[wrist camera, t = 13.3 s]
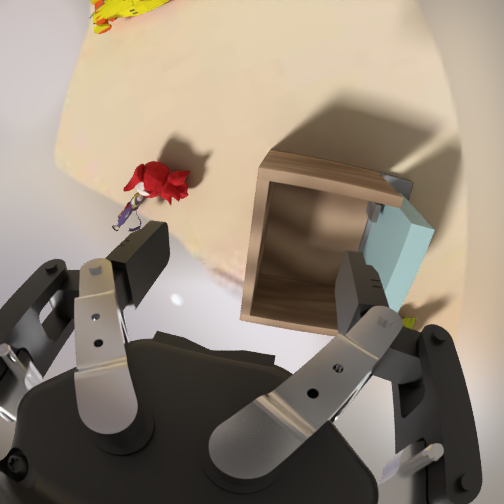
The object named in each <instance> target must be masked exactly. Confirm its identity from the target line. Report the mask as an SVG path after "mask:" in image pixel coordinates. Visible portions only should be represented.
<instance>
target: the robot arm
mask: <svg viewBox="0 0 504 504" xmlns="http://www.w3.org/2000/svg"><path fill="white" fill-rule="evenodd" d="M169 257H170V247H169V233H168V225H167V223H166V222H159V221H149V222H148V223H147V224H146V225H145V226H144V227H143V228H142V229H139V230H137V231H135V232H133V233H131V234H130V235H129V236H128V237H127V238H126V239H125V240H124V241H123V242H121V243H120V245H118V246H117V247H116V248H115V249H114V250H113V251H112V252H111V253H110V254H109V255H108V256H107V257H106V258H105V259H103V258H99V259H93V260H90V261H88V262H86V263H85V264H84V265H83V266H82V267H81V269H80V270H67V267H66V264H65V262H64V261H63V260H61V259H54V260H50V261H48V262H46V263H44V264H43V265H42V266H40V267H39V268H38V269H37V270H36V271H35V272H34V274H32V275H31V277H29V279H28V280H27V281H26V282H25V283H24V284H23V285H22V286H21V287H20V288H19V289H18V290H17V291H16V292H15V293H14V294H13V295H12V297H11V298H10V299H9V300H8V301H7V302H6V303H5V304H4V306H3V307H2V308H1V309H0V415H1V416H2V417H3V418H4V419H6V420H7V421H11V422H13V421H16V427H15V434H14V439H13V443H12V447H11V450H10V451H9V453H8V454H7V456H6V457H5V458H4V459H3V460H1V461H0V504H469V503H470V502H472V501H473V500H474V499H475V498H476V497H477V495H478V494H479V492H480V489H481V486H482V470H481V460H480V453H479V445H478V438H477V432H476V427H475V421H474V416H473V411H472V407H471V402H470V398H469V394H468V390H467V386H466V382H465V378H464V375H463V372H462V368H461V364H460V361H459V358H458V355H457V352H456V348H455V345H454V342H453V340H452V337H451V335H450V334H449V333H448V332H447V331H446V330H445V329H444V328H442V327H440V326H438V325H434V324H430V325H427V326H425V327H424V329H423V330H422V332H418V331H415V330H412V329H410V328H407V327H405V326H403V321H402V318H401V317H400V315H399V314H398V313H397V312H396V311H394V310H393V309H391V308H389V304H388V301H387V298H386V295H385V291H384V289H383V285H382V282H381V279H380V276H379V273H378V272H377V271H376V270H375V268H374V267H373V266H372V265H366V262H365V259H364V256H363V253H362V252H356V251H350V250H346V251H345V252H344V255H343V259H342V262H341V266H340V269H339V273H338V276H337V279H336V284H335V300H336V310H337V322H338V335H337V336H336V337H335V338H334V339H332V340H331V341H330V342H329V343H328V344H327V345H326V346H325V347H324V348H323V349H322V350H321V351H319V352H318V353H317V354H316V355H315V356H314V357H313V358H312V359H310V360H309V361H308V362H307V363H306V364H305V365H304V366H302V368H300V369H299V370H298V371H297V372H295V373H294V374H292V373H290V372H289V371H287V370H285V369H283V368H281V367H279V366H277V365H274V361H275V355H269V354H262V353H257V352H251V351H244V350H240V351H214V350H209V349H207V348H205V347H203V346H201V345H198V344H196V343H194V342H192V341H190V340H188V339H186V338H184V337H179V336H175V335H171V334H167V333H163V332H159V331H157V332H156V334H155V336H154V338H153V339H140V340H135V341H131V342H130V338H129V334H128V329H127V325H126V320H125V316H124V312H123V310H124V308H125V307H128V308H132V309H136V308H137V307H138V305H139V304H140V302H141V301H142V299H143V298H144V296H145V295H146V294H147V292H148V291H149V289H150V288H151V286H152V285H153V284H154V282H155V281H156V279H157V278H158V276H159V275H160V274H161V272H162V271H163V269H164V268H165V267H166V265H167V263H168V261H169ZM48 301H49V302H50V304H51V307H52V309H53V310H52V312H51V313H50V314H49V315H48V317H47V318H46V319H45V320H44V322H43V323H42V324H41V323H40V320H39V315H40V312H41V310H42V309H43V307H44V306H45V305H46V304H47V303H48ZM74 329H75V348H76V363H77V367H75V368H73V369H71V370H69V371H66V372H64V373H62V374H60V375H58V376H55V377H53V378H51V379H49V380H47V381H45V382H43V380H42V379H43V377H44V376H45V374H46V372H47V371H48V369H49V367H50V366H51V364H52V362H53V361H54V359H55V357H56V356H57V355H58V353H59V351H60V350H61V348H62V347H63V345H64V344H65V342H66V340H67V339H68V338H69V336H70V335H71V333H72V332H73V330H74ZM373 375H374V376H377V377H380V378H383V379H386V380H389V381H391V382H392V392H393V405H394V419H395V420H394V421H395V453H396V455H395V456H393V457H392V458H390V459H389V460H388V462H387V463H386V464H385V466H384V469H383V474H382V477H381V480H380V481H379V483H378V484H377V482H376V479H375V477H374V475H373V474H372V472H371V471H370V470H369V468H368V467H367V466H366V465H365V464H364V462H363V461H362V460H361V459H360V457H359V456H358V455H357V454H356V452H355V451H354V450H353V448H352V447H351V446H350V445H349V443H348V442H347V441H346V440H345V438H344V437H343V436H342V434H341V433H340V432H339V431H338V429H337V428H336V427H335V425H334V422H335V421H336V420H337V419H338V418H339V417H340V416H341V414H342V413H343V412H344V411H345V409H346V408H347V407H348V406H349V405H350V403H351V402H352V401H353V400H354V399H355V397H356V396H357V395H358V394H359V393H360V391H361V390H362V389H363V388H364V386H365V385H366V384H367V383H368V381H369V380H370V379H371V377H372V376H373Z"/></svg>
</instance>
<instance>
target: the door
mask: <svg viewBox="0 0 504 504" xmlns="http://www.w3.org/2000/svg"><path fill="white" fill-rule="evenodd" d="M399 194H400V195H401V196H402V197H403V201H402V205H401V208H397V207H393V206H389V205H385V204H381V203H380V204H381V210H380V213H379V217H378V220H377V223H374V222H373V223H372V226H371V230H370V233H369V236H368V239H367V242H366V245H365V248H364V251H363V256H364V259H365V262H366V265H372V266H373V267H374V268H375V270H376V271H377V272H378V273H379V276H380V279H381V282H382V285H383V289H384V291H385V295H386V298H387V301H388V304H389V308H391V309H393V310H394V311H396V312H397V313H398V311H399V309H400V307H401V305H402V304H403V302H404V300H405V298H406V295H407V293H408V291H409V289H410V287H411V285H412V283H413V281H414V279H415V276H416V274H417V272H418V270H419V268H420V265H421V263H422V261H423V258H424V256H425V253H426V251H427V249H428V246H429V244H430V241H431V238H432V236H433V233H434V231H435V229H434V228H433V227H432V226H431V225H430V224H429V223H428V221H427V220H426V219H425V218H424V217H423V216H422V215H421V214H420V213H419V212H418V210H417V209H416V208H415V207H414V206H413V205H412V204H411V203H410V202H409V201H408V200H407V199H406V198H405V197H404V196H403V195H402V194H401V193H399Z"/></svg>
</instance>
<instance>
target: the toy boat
mask: <svg viewBox="0 0 504 504" xmlns="http://www.w3.org/2000/svg"><path fill="white" fill-rule="evenodd" d="M168 1H170V0H144V1H143V0H91V4H94V5H95V12H93V13H92V15H91V17H92V16H93V23H94V24H97V26H96V27H94V32H95V33H97V34H101V33H104V32H107V31H108V30H110V29H111V27H112V26H111V25H110V24H109V23H108V20H109V21H112V22H113V21H114V20H115V18H117V17H129V16H137V15H140V14H142V13H145V12H148V11H151V10H153V9H155V8H157V7H159V6H161V5H163V4H165V3H167V2H168ZM91 17H90V18H91Z"/></svg>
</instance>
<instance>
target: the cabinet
mask: <svg viewBox="0 0 504 504" xmlns="http://www.w3.org/2000/svg"><path fill="white" fill-rule="evenodd" d="M412 186H413V182H412V181H409V180H405V179H402V178H398V177H395V176H391V175H387V174H384V173H380V172H376V171H372V170H368V169H364V168H360V167H356V166H352V165H347V164H343V163H338V162H334V161H329V160H324V159H319V158H314V157H309V156H303V155H298V154H292V153H286V152H280V151H274V150H270V151H269V152H268V154H267V155H266V157H265V158H264V160H263V161H262V163H261V165H260V166H259V168H258V176H257V184H256V192H255V200H254V208H253V216H252V224H251V232H250V240H249V248H248V256H247V264H246V272H245V281H244V289H243V297H242V305H241V314H240V320H241V321H246V322H251V323H257V324H262V325H267V326H274V327H279V328H285V329H290V330H297V331H303V332H309V333H316V334H323V335H330V336H337V335H338V322H337V310H336V300H335V284H336V279H337V276H338V273H339V269H340V266H341V262H342V259H343V255H344V252H345V251H346V250H350V251H356V252H362V253H363V251H364V248H365V245H366V242H367V239H368V236H369V233H370V230H371V226H372V223H373V222H374V223H377V220H378V217H379V213H380V210H381V204H385V205H389V206H393V207H397V208H401V205H402V201H403V197H402V196H401V195H400V194H399V193H401V194H402V195H403V196H404V197H405V198H406V199H407V200H409V197H410V193H411V190H412ZM380 203H381V204H380Z"/></svg>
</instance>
